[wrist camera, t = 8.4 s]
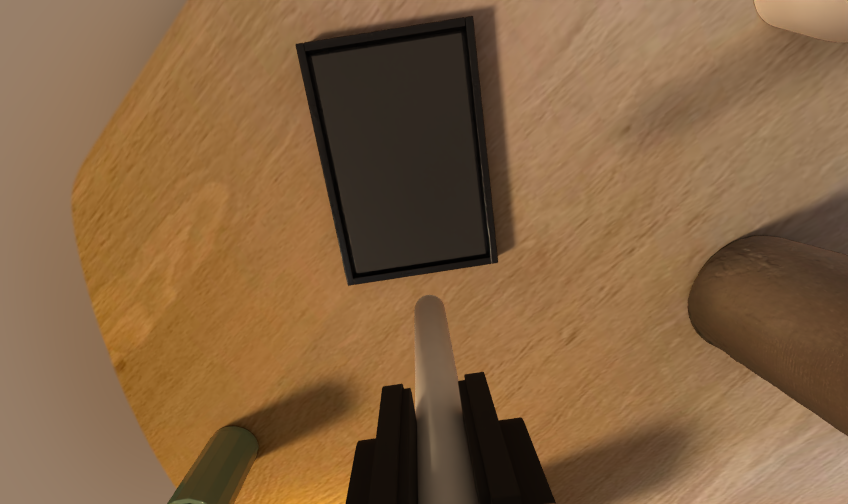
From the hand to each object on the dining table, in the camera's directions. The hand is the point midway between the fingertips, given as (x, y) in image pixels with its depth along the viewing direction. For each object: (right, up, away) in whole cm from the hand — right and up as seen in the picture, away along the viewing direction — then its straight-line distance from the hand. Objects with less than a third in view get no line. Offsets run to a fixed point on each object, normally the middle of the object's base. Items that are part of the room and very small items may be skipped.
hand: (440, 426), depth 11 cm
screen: (-2, +11, +16) cm, 19 cm away
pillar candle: (+25, +2, +21) cm, 32 cm away
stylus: (0, +2, +8) cm, 9 cm away
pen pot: (-16, -12, +23) cm, 30 cm away
